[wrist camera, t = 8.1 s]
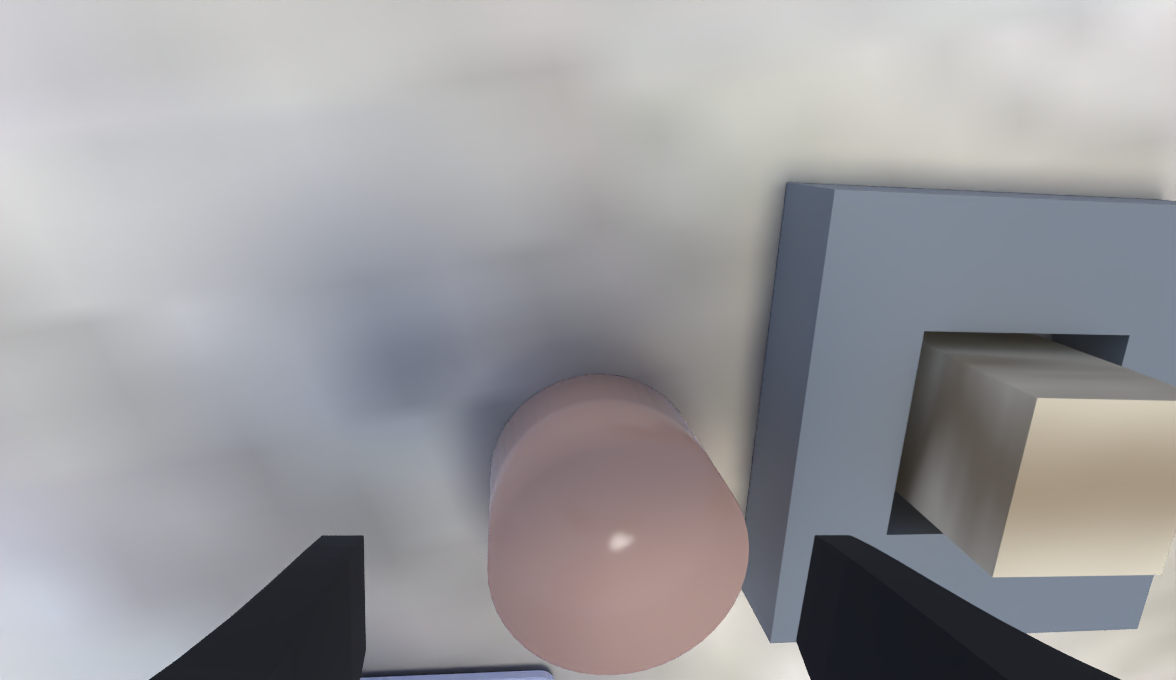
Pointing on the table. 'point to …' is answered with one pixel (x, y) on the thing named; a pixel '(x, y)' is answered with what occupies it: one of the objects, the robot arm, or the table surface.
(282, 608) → the robot arm
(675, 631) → the round peg
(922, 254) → the socket block
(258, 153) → the table surface
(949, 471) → the square peg
